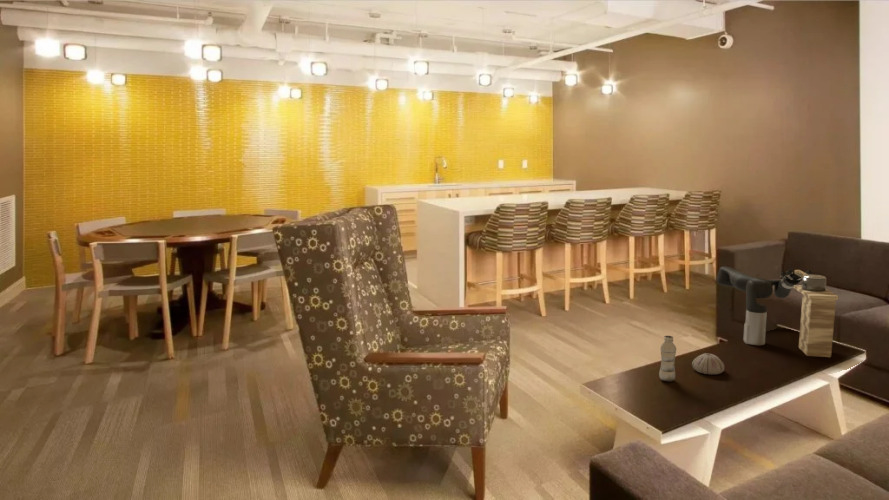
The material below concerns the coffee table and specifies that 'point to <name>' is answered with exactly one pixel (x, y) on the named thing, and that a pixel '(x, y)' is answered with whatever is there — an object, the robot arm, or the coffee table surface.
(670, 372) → the plastic bottle
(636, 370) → the coffee table surface
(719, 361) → the sea urchin shell
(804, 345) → the stand
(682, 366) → the coffee table surface
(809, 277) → the saucepan
